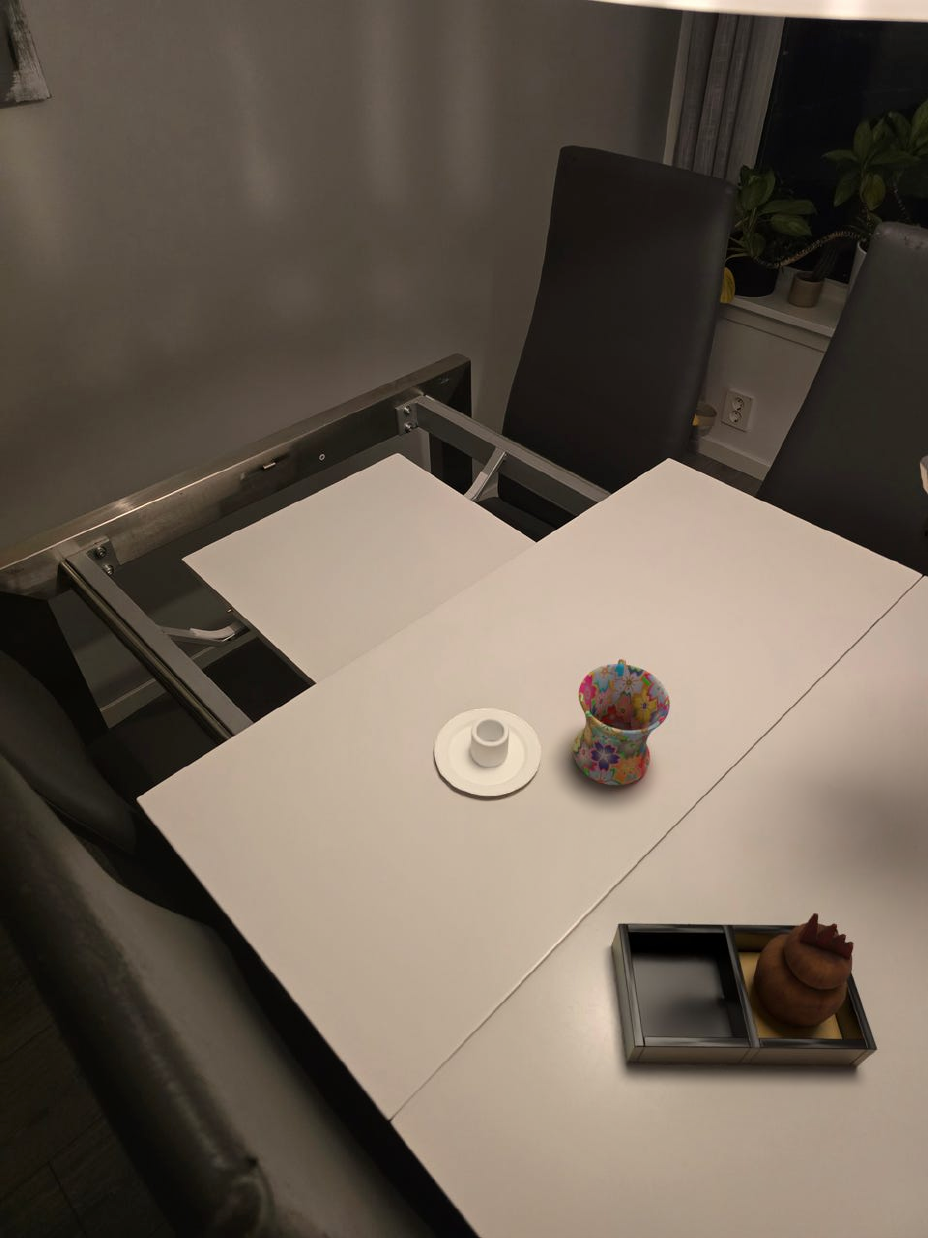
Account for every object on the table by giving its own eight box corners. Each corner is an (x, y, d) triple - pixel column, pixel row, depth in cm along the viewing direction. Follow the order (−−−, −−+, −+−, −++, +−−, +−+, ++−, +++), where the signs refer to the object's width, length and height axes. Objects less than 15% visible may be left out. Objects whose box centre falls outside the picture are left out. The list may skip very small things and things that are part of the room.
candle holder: (434, 801, 84) (433, 778, 81) (433, 713, 92) (433, 689, 89) (546, 798, 84) (549, 775, 81) (535, 710, 93) (537, 687, 90)
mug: (652, 798, 84) (671, 738, 77) (566, 786, 85) (576, 726, 78) (651, 711, 93) (667, 650, 85) (572, 702, 94) (582, 640, 86)
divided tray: (819, 947, 73) (836, 925, 70) (857, 1067, 66) (877, 1049, 62) (611, 944, 73) (618, 923, 70) (626, 1064, 66) (634, 1046, 63)
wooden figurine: (732, 994, 69) (781, 919, 58) (765, 948, 72) (818, 869, 61) (803, 1054, 66) (868, 986, 55) (835, 1003, 69) (903, 929, 58)
